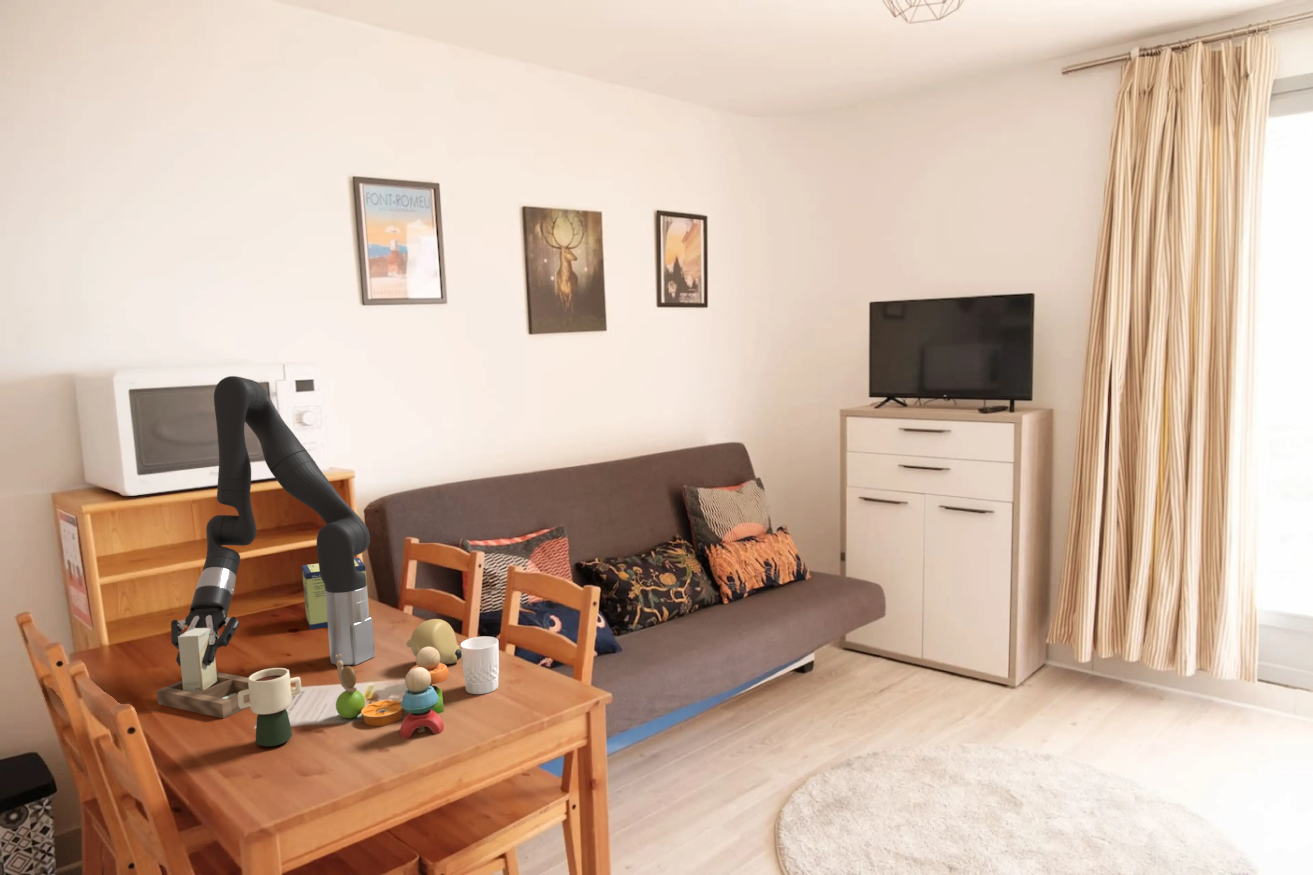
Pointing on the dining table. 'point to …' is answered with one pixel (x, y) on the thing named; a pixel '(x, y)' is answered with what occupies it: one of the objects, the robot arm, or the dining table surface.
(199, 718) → the dining table surface
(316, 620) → the protein box
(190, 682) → the skincare box
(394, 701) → the wooden stacking toy
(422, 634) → the beige animal figurine
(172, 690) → the wooden compartment tray
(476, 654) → the white cup
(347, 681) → the snail figurine
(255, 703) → the character mug
